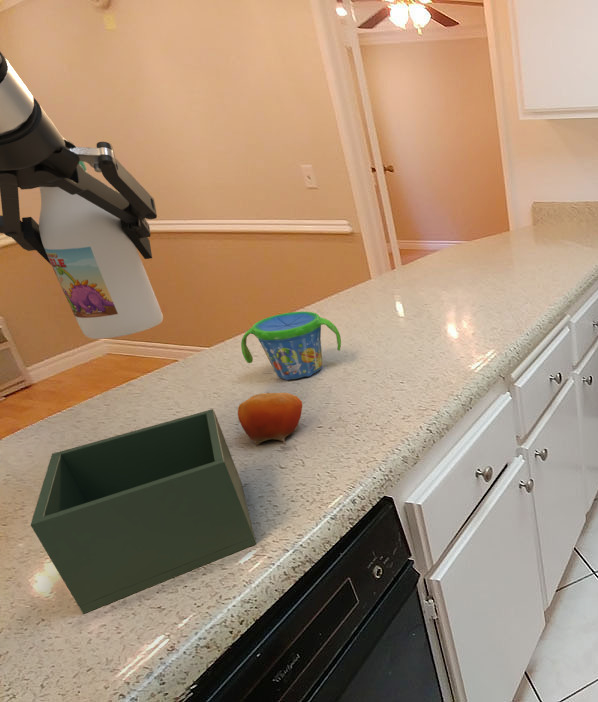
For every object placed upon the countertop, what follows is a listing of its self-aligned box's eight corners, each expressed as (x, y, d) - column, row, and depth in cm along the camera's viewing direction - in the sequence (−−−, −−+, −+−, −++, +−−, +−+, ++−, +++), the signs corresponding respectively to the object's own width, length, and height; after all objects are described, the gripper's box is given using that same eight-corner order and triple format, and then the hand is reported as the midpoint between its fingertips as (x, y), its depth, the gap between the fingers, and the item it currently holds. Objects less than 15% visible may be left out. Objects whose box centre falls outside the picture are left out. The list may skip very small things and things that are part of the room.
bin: (94, 533, 65) (51, 453, 60) (241, 482, 73) (213, 408, 68) (83, 614, 54) (30, 524, 50) (256, 544, 62) (224, 461, 58)
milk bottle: (148, 314, 74) (83, 153, 65) (176, 323, 70) (111, 154, 62) (74, 334, 68) (-8, 160, 59) (100, 345, 64) (16, 161, 56)
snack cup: (352, 355, 109) (339, 306, 105) (340, 378, 100) (326, 325, 96) (264, 366, 106) (248, 315, 102) (243, 390, 97) (224, 336, 93)
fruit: (230, 452, 77) (225, 395, 77) (254, 451, 84) (249, 398, 85) (295, 441, 78) (289, 385, 79) (313, 441, 86) (307, 390, 87)
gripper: (124, 74, 54) (200, 219, 74) (-197, 78, 45) (-13, 241, 65) (133, 134, 52) (210, 266, 71) (-201, 150, 43) (-9, 296, 62)
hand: (104, 254), depth 68 cm, fingers closed on milk bottle, 8 cm apart
